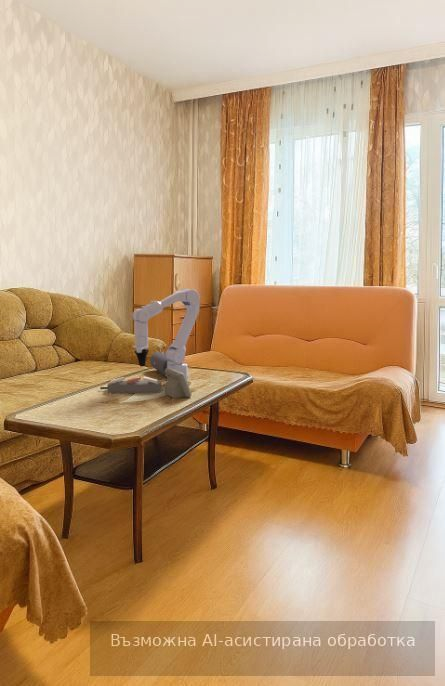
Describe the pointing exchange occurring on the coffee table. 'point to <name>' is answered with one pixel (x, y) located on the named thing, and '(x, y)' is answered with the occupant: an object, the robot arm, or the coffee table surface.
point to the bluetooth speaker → (159, 362)
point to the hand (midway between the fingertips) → (142, 366)
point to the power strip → (134, 387)
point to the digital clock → (176, 384)
